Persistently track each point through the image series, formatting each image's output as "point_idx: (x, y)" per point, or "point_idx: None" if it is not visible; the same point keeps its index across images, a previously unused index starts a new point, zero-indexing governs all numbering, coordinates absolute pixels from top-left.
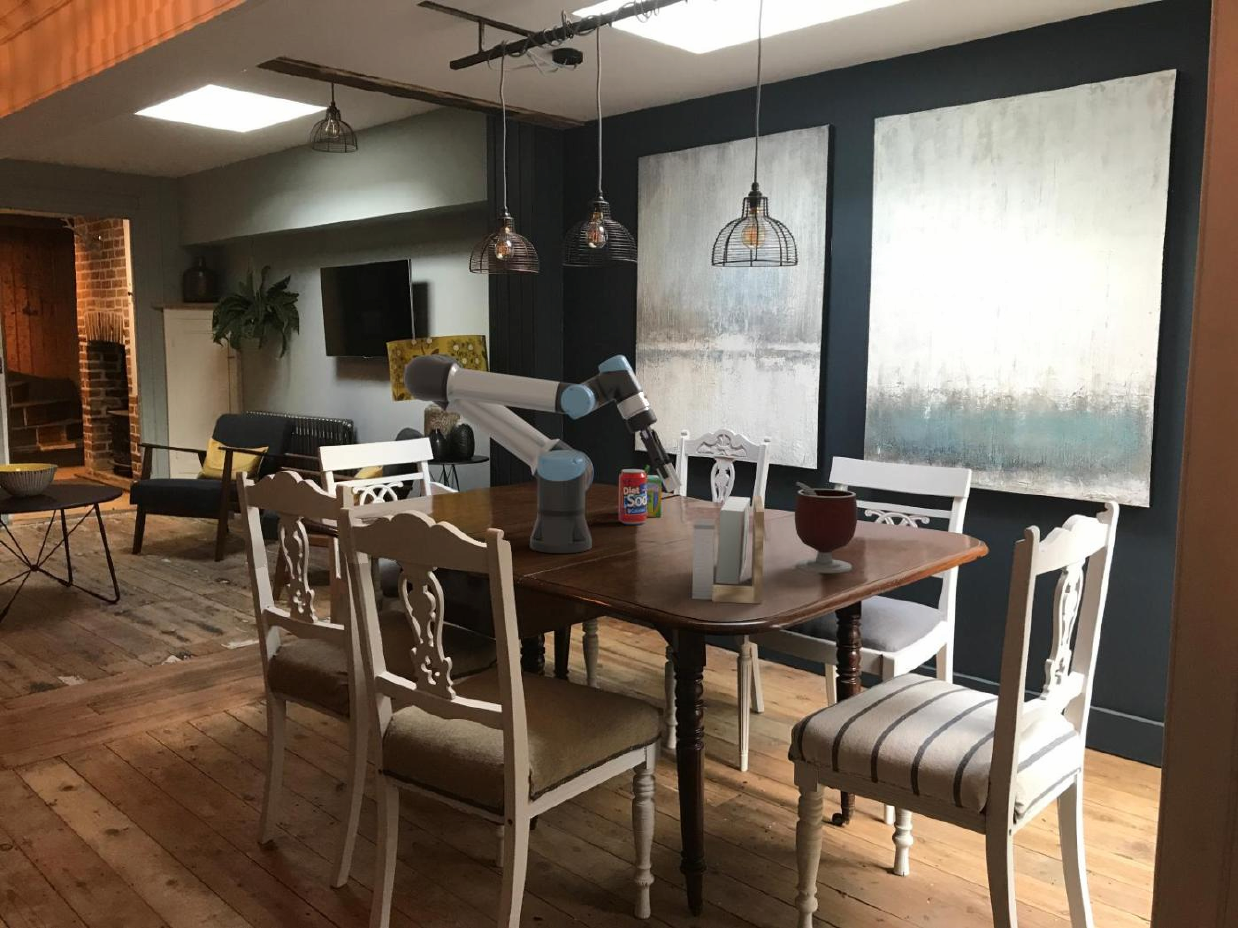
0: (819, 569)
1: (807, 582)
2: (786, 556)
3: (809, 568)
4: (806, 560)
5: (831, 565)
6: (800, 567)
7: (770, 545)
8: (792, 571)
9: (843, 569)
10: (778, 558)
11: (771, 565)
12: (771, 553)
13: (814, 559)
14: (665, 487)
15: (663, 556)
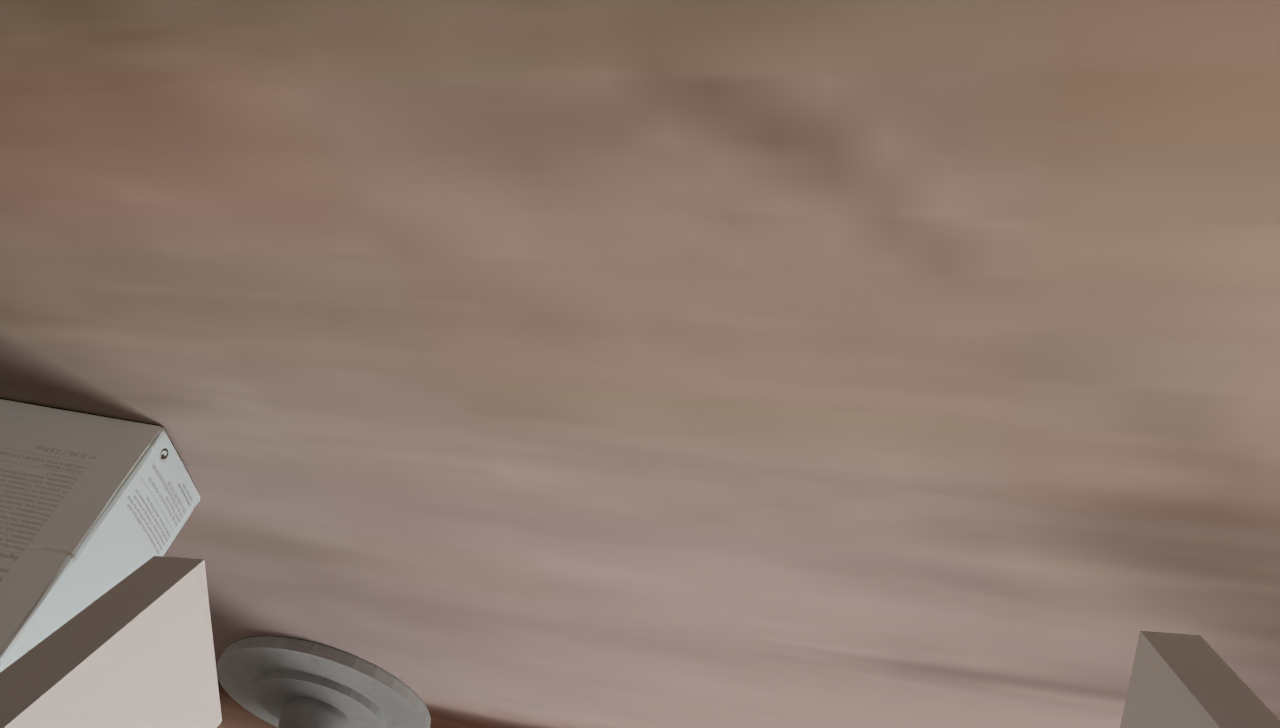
0: (220, 676)
1: None
2: (477, 649)
3: (219, 659)
4: (362, 682)
5: (275, 714)
6: (247, 642)
7: (745, 653)
8: None
9: (268, 721)
10: (417, 620)
11: (249, 575)
12: (526, 620)
13: (356, 703)
14: (86, 612)
15: (123, 80)
